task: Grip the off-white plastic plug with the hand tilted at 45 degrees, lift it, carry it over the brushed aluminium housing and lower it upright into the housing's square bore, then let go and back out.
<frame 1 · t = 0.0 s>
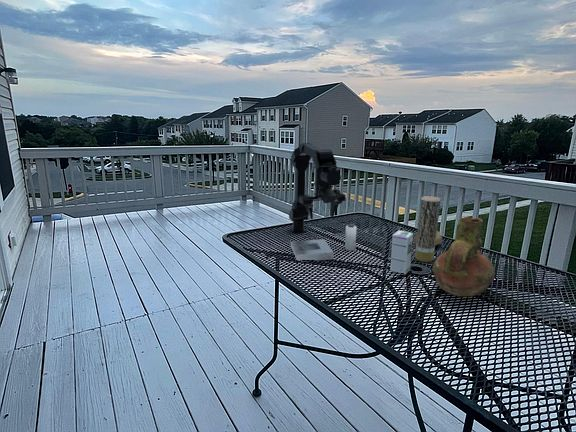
hand: (321, 218, 134), 15 cm above the table, tool pointing down, fingers open, 9 cm apart
paper tube: (423, 259, 129), on the table
ceramic vessel: (459, 290, 105), on the table
housing: (311, 253, 136), on the table
syrup box: (399, 270, 120), on the table
bread roll: (426, 246, 142), on the table
plug: (350, 248, 141), on the table
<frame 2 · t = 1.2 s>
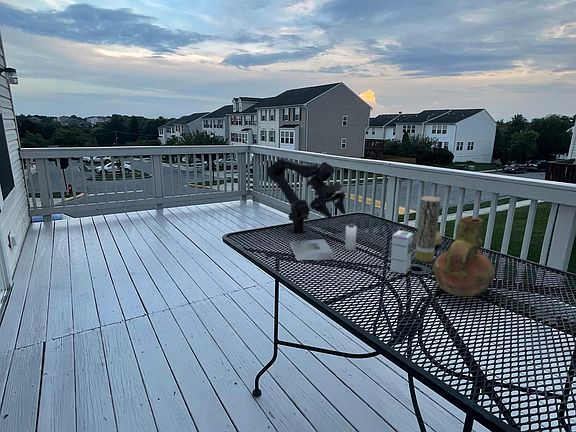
hand: (338, 215, 142), 13 cm above the table, tool tilted 45°, fingers open, 9 cm apart
nothing on the table moved.
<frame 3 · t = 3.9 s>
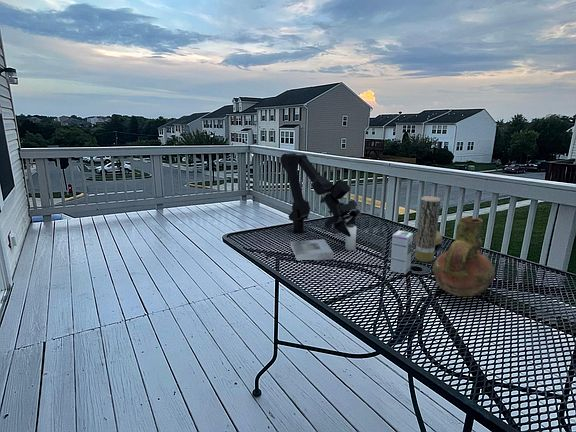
hand: (353, 235, 138), 7 cm above the table, tool tilted 45°, fingers closed on plug, 4 cm apart
plug: (350, 248, 141), on the table, touching gripper
everything else where it was.
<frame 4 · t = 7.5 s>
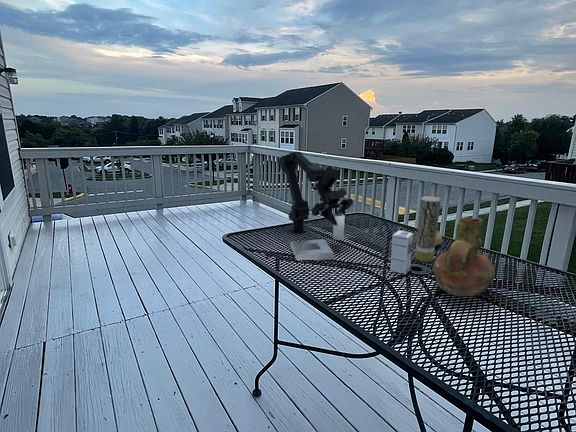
hand: (341, 224, 133), 13 cm above the table, tool tilted 45°, fingers closed on plug, 4 cm apart
plug: (338, 238, 136), point 6 cm above the table, touching gripper
everything else where it was.
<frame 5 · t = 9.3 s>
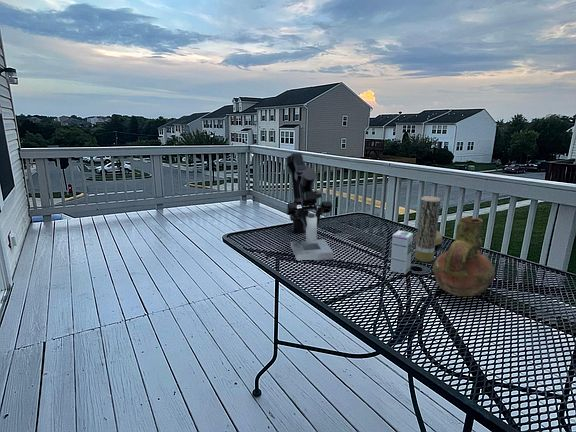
hand: (312, 226, 131), 13 cm above the table, tool tilted 45°, fingers closed on plug, 4 cm apart
plug: (311, 240, 134), point 6 cm above the table, touching gripper
everything else where it was.
when the fingers open (8 cm above the table, at t = 11.1 s): plug stays where it is, resting in housing.
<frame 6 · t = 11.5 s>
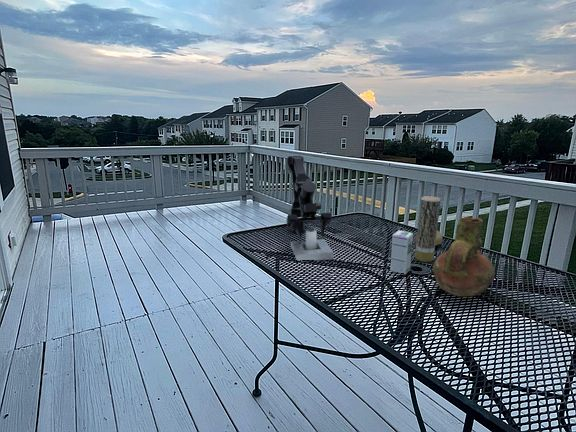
hand: (311, 237, 133), 8 cm above the table, tool tilted 45°, fingers open, 9 cm apart
plug: (311, 253, 136), resting in housing
everything else where it was.
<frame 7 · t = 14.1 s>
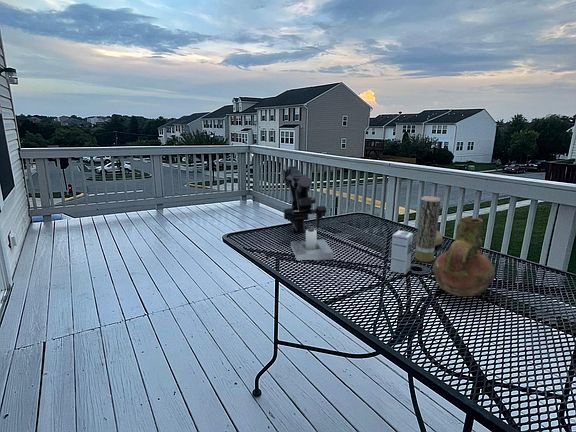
hand: (307, 229, 141), 8 cm above the table, tool tilted 45°, fingers open, 9 cm apart
nothing on the table moved.
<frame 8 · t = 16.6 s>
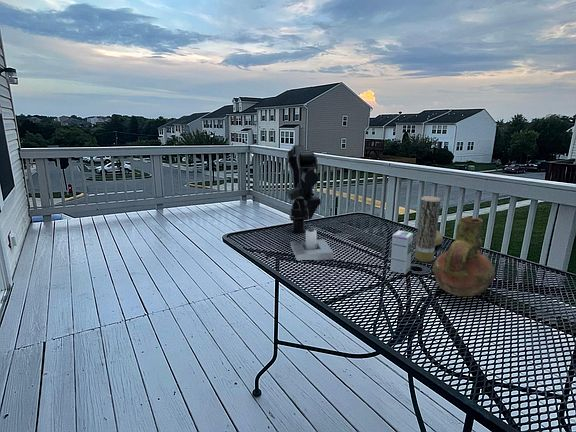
hand: (305, 216, 143), 13 cm above the table, tool pointing down, fingers open, 9 cm apart
nothing on the table moved.
at the end: plug 0.0 cm off-centre on the housing, point 0.0 cm above the housing's base; plug tilted 0°; the gripper is holding nothing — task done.
